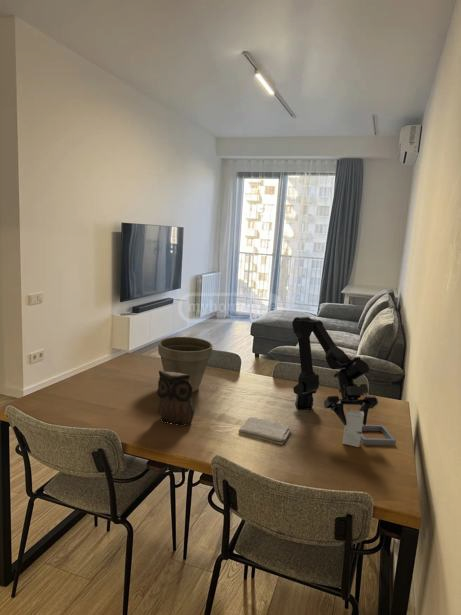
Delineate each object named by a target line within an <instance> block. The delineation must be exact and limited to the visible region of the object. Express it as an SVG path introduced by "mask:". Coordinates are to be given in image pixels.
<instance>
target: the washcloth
mask: <svg viewBox="0 0 461 615" xmlns="http://www.w3.org/2000/svg"><path fill="white" fill-rule="evenodd" d="M291 432H292V428H290V426H288V425H284V424H282V423H279V422H278V421H272V420H267V419H263V418H258V417H256V416H255V417H253V416H250V417H248V418H247V420H246V421H245V423H244V424H243V425H241V426H240V428H239V429H238V434H239V435H244V436H246V437H250V438H255V439H259V440H264V441H267V442H270V443H274V444H279V445H283V443H286V441H287V439H288V437H289V436H290V435H291Z"/></svg>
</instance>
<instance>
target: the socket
mask: <svg viewBox="0 0 461 615" xmlns="http://www.w3.org/2000/svg"><path fill="white" fill-rule="evenodd" d="M363 431H366V432H367V431H368V432H369V431H370V432H380V433H382V435H383V436H384V438H378V437H377V438H374V437H373V438H372V437H371V438H370V437H369V438H368V437H365V436H364V434H363V433H362V432H363ZM362 432H361V438H360V443H361V444H362V445H371V446H372V445H373V446H396V444H397V443H396V442H397V440H396V439H395V437H393V435H392V434H391V433H390V431H389V430H388V429H387V428H386V427H385V426H384V425H383V424H380V425H379V424H366V425H365V426H364V425H362Z"/></svg>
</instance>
